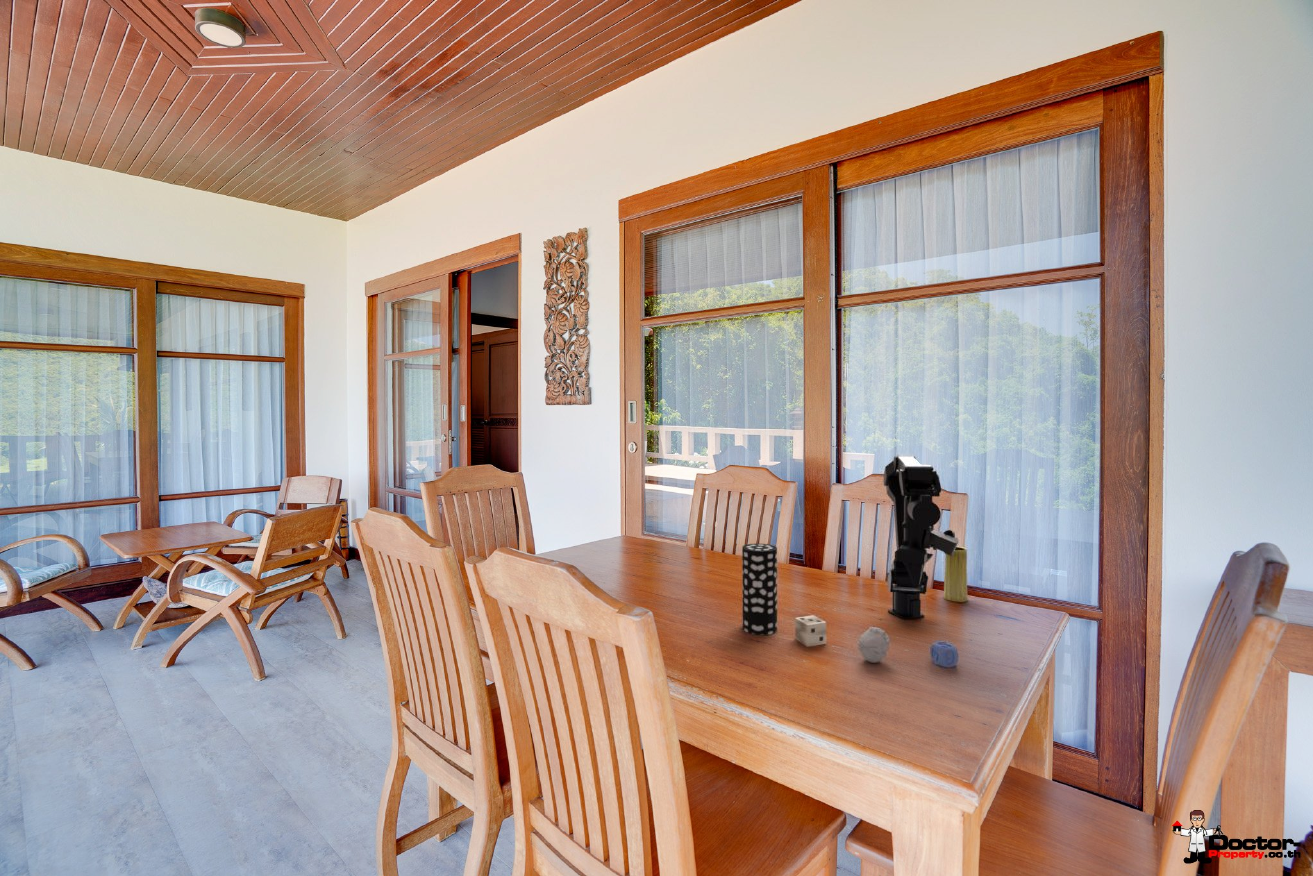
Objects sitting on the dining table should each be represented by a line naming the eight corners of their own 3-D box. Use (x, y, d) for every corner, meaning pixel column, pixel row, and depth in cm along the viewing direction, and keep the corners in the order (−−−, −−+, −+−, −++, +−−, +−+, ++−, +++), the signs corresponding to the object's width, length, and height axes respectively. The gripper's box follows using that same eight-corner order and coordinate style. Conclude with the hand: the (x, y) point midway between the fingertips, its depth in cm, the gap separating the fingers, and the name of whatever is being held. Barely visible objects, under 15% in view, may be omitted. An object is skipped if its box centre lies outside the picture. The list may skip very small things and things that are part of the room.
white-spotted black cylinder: (756, 637, 137) (756, 553, 136) (735, 626, 144) (735, 546, 143) (784, 631, 141) (784, 548, 140) (762, 620, 148) (762, 542, 147)
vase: (965, 596, 165) (966, 546, 165) (969, 603, 159) (970, 551, 159) (942, 594, 167) (942, 545, 167) (945, 601, 161) (945, 550, 161)
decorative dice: (948, 659, 124) (948, 640, 124) (958, 667, 120) (958, 648, 120) (929, 659, 124) (930, 641, 124) (939, 668, 120) (939, 648, 120)
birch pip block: (795, 639, 136) (795, 617, 136) (813, 636, 138) (813, 614, 137) (807, 647, 131) (807, 624, 131) (826, 644, 133) (826, 622, 133)
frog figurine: (896, 662, 123) (896, 629, 123) (876, 670, 119) (876, 637, 119) (870, 652, 128) (871, 621, 128) (851, 660, 124) (851, 628, 123)
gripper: (949, 529, 124) (948, 601, 124) (961, 515, 139) (960, 580, 140) (894, 524, 130) (893, 593, 131) (911, 511, 145) (910, 573, 146)
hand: (916, 585), depth 137 cm, fingers closed
